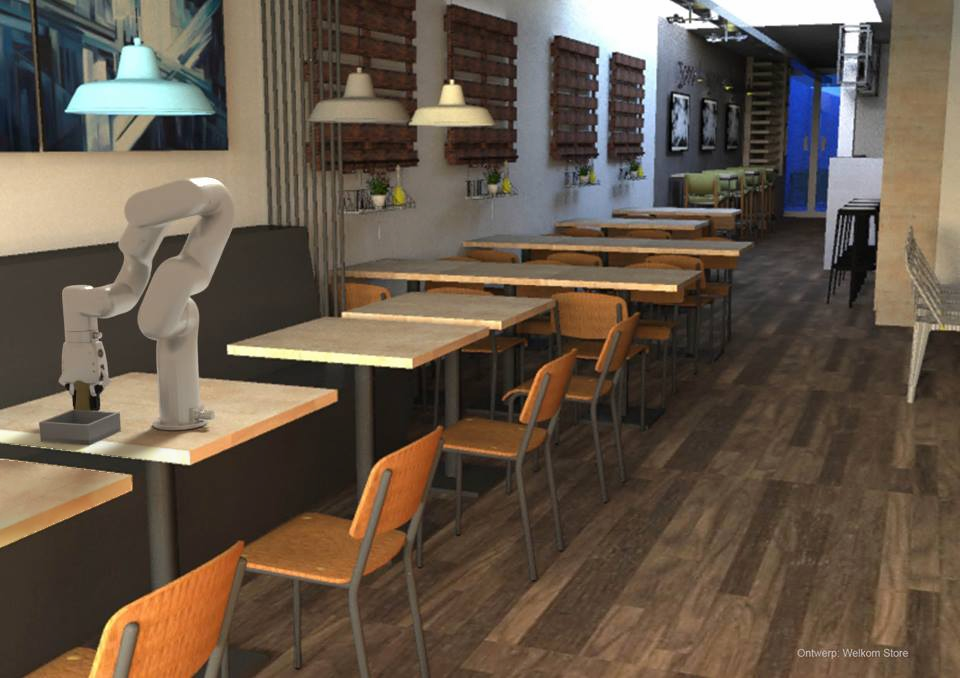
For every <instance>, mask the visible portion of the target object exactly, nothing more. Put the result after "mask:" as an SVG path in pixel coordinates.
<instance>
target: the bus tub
mask: <svg viewBox="0 0 960 678" xmlns="http://www.w3.org/2000/svg"><path fill="white" fill-rule="evenodd" d="M120 413H121V412H120V411H106V410H105V411H104V410H98V411H88V410H74V409H69V410H68V411H65V412H63V413H60V414H57V415H54V416H51V417H50V418H47V419H45V420H44V419H43V420H42V421H39V422H38V425H39V438H40V440H39V441H40V442H41V443H56V444H70V445H85V446H86V445H87V446H90V445H93V444H95V443H97V442H99V441H103V440H104V439H106V438H108V437H110V436H113V435H115V434H117V433H118V434H119V432H121V429H122V427H121V426H122V425H121V424H122V423H121V414H120Z"/></svg>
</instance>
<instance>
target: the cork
mask: <svg viewBox="0 0 960 678" xmlns="http://www.w3.org/2000/svg"><path fill="white" fill-rule="evenodd" d="M73 385H74V389H75V390H76V405H75V410H88V411H91V410H90V401H89V397H90V396H92V395H91V391H90V385H89V384H87V383H85V382H83V381H79V380H78V381H75V382H74V383H73ZM95 386H96V385H95Z"/></svg>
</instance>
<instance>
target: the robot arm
mask: <svg viewBox="0 0 960 678" xmlns="http://www.w3.org/2000/svg"><path fill="white" fill-rule="evenodd" d="M123 210H124V211H123V212H124V217H125V219H126V222H127V223H128V224H127V226H126V228H125V230H124V231H123V233H122V235H121V236H120V239H119V241H118V244H117V245H118V248H119V250H120V252H122V253H123V254H122V255H123V264H122V266H121V269H120V271H119V273H118V275H117V276H116V278H115V279H114V282H113V283H109V284H106V285H105V284H104V285H103V286H98V287H94V286H92V285H89V284H88V285H87V284H76V285H69V286H65V287H64V288H63V289H62V292H61V293H62V294H61V295H62V296H61V299H62V310H63V311H62V312H63V314H62V315H63V323H64V339H65V341H64V342H63V344H62V351H61V375H60V376H59V379H58V383H59V384H60V385H62V386H64V387H65V389H66V390H67V392H69V395H70V396H71V399H72V400H71V401H72V407H73V409H72V410H75V405H76V390H75V389H74V385H73V383H74V382H75V381H78V380H79V381H83V382H85V383H87V384H89V385H90V391H91V395H92V396H90V397H89V401H90V410H91V411H101V396H100V395H102V393H103V391H104V390H105V389H106V388H107V387H109V386H111V385H112V381H111V379H110V378H109V370H108V361H107V360H108V359H107V355H106V351H105V347H104V345H103V342H102V341H101V340H100V341H99V339H102V337H103V333H102V332H99V326H98V319H109V318H113V317H115V316H118V315H121V314H125V313H127V312H129V311H131V310H132V309H133V308H134V307H135V306H136V305H137V303H138V302H139V300H140V298H141V297H142V295H143V294H144V292H145V290H146V288H147V285H148V284H149V285H148V288H147V290H146V293H145V295H144V297H143V299H142V302H141V303H140V306H139V309H138V311H137V325H138V328H139V330H140V331H141V333H142V335H143V336H145V337H146V338H147V339H150V340H153V341H156V348H155V350H156V352H155V354H156V355H155V356H156V357H155V359H156V374H157V375H156V376H157V394H158V411H159V417H157V418H155V419H154V420H153V421H152V424H153V427H154V428H156V429H158V430H163V431H185V430H186V431H187V430H191V429H192V430H193V429H198V428H200V427H203V426H205V425H207V424H208V421H213V420H214V419H215V410H206V409H205V404H204V403H203V404H202V403H201V400H200V399H201V396H200V394H201V393H200V376H199V375H200V373H199V354H198V353H199V352H198V351H199V350H198V349H199V348H198V336H199V325H200V313H199V308H198V305H197V303H196V302H195V301H194V299H193V298H191V296H194V295H196V294H199V293H201V292H203V291H205V290H206V289H207V288H208V287H209V285H210V282H211V281H212V277H213V276H214V273H215V271H216V268H217V266H218V264H219V261H220V259H221V256H222V254H223V251H224V249H225V247H226V245H227V242H228V239H229V238H230V236H231V232H232V231H233V228H234V225H235V220H236V205H235V201H234V199H233V196H232V194H231V192H230V191H229V189H228V188H227V187H226V185H224V184H223V183H222V182H221V181H219V180H217V179H215V178H211V177H206V176H205V177H204V176H203V177H202V176H201V177H187V178H180V179H177V180H173V181H171V182H167V183H164V184H161V185H158V186H154V187H151V188H148V189H144V190H140V191H137V192H135V193H133V194H131V195H130V197H128V199H127V200H126V203H125V206H124V209H123ZM195 216H198V217H197V220H196V223H195V224H194V225H193V227H192V228H191V230H190V232H189V234H188V235H187V239H186V241H185V243H184V245H183V247H182V250H181V251H180V252H179V254H178V255H176V256H172V257H170V258H168V259H165V260H164V261H163V262H161V264H159V266H158V267H157V269H156V270H155V272H154V273H153V276H152V278H151V272H152V266H153V259H154V258H155V255H156V253H157V251H158V250H159V247H160V245H161V244H162V242H163V240H164V238H165V236H166V234H167V233H168V231H169V229H170V227H171V225H172V223H173V222H175V221H177V220H178V221H179V220H182V219H186V218H189V217H190V218H191V217H195ZM150 278H151V281H150ZM149 281H150V283H149ZM95 385H96V386H95Z"/></svg>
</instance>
